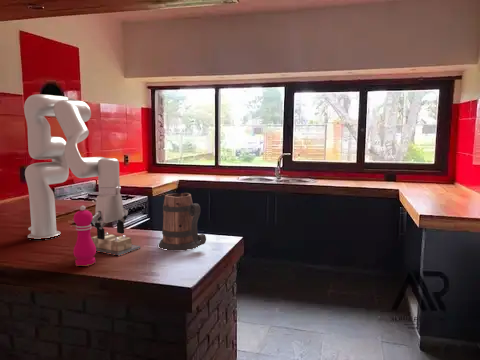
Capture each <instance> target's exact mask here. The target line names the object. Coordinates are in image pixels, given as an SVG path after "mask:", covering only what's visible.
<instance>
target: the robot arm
mask: <svg viewBox="0 0 480 360" xmlns="http://www.w3.org/2000/svg"><path fill="white" fill-rule="evenodd" d="M23 110H24V111H23V112H24V113H23V114H24V117H25V120H26V126H27V146H28V147H27V148H28V149H27V150H28V154H29V156H30V158H32V159H33V160H51V161H50V162H49V161H48V162H47V161H44V162H35V163H32V164H31V163H30V165H28V166H27V167H26V168H25V170H24V177H25V178H24V179H25V181H26V184H27V188H28V189H27V190H28V198H29V210H30V211H29V212H30V213H29V214H30V223H31V224H30V225H31V226H29V227H28V231H30V233H29V234H28V235H27V239H28V238H34V239H41V238H50V237H54V236H58V235H60V234H61V231H59V230H57V220H56V219H57V216H56V215H57V214H56V200H55V199H56V197H55V193H54V191H53V189H52V188H51V187H50V185H57V184H63V183H64V182H66V181H67V180H68V178H69V176H70V175H69V174H70V171H71V173H72V174H73V175H74V176H75V177H76V178H79V179H87V178H95V177H98V178H97V181H98V195H97V196H96V200H95V201H96V202H95V213H94V215H92V216H93V220H92V222H91V223H92V225H93V226H94V228H95V229H96V236H97V238H98V239H102V240H103V239H105V233H106V232H105V228H104V227H105V225H106V224H107V223H111V222H115V221H116V233H117V234H122V235H124V234H125V223H126V220H127V218H128V214H129V210H128V209H126V208H124V203H123V199H122V198H123V197H122V194H121V189H122V187H121V185H120V184H121V183H120V181H121V180H120V161H119V159H117V158H114V157H103V156H88V157H87V156H86V157H82V155H81V154H80V151H79V149H78V144H80V143H81V142H83V141H84V140H86V139H87V138H88V136H90V135H89V134H90V131H89V129H88V127H87V125H86V123H85V122H88V121H89V120H90V119H91V117H92V110H91V108H90V106H89V105H88V104H87V103H86V102H85V101H83V100H79V99H75V98H73V97H69V96H63V95H53V94H42V93H41V94H40V93H39V94H32V95H29V96H28V97H27V99H26V100H25V101H24V105H23ZM46 117H55V118H56V120H57V122H58V125H59V126H60V127H61V130H62V132H63V134H64V136H65V138H66V139H64V137H62V136H52V133H51V130H52V129H51V125H50V123H49V121H48V120H47V118H46ZM60 236H61V235H60ZM58 237H59V236H58Z"/></svg>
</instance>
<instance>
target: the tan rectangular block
mask: <svg viewBox="0 0 480 360" xmlns="http://www.w3.org/2000/svg"><path fill="white" fill-rule="evenodd" d="M115 237H118V241H115ZM91 238H92V240H93V242H94V244H95V247H98V248H103V249H108V250H113V251H121V250H124V249H127V248H130V247H132V245H133V244H132V237H129V236H128V237H127V236H125V239H122V235H115V234H112V233H111V234H110V233H108V236H105V239H103V240H102V239H98V238H97V235H94V236H91Z"/></svg>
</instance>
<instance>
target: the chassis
mask: <svg viewBox="0 0 480 360" xmlns="http://www.w3.org/2000/svg"><path fill="white" fill-rule="evenodd" d="M108 234H109V233H108V232H105V236H108ZM121 236H122V239H125V237H126V234H122V235H121ZM115 241H118V237H115ZM138 248H140V249H141V246H140V245H135V244H132V247H130V248H127V249H124V250H121V251H113V250H108V249H103V248H98V247H96V251H100V252H106V253H111V254H115V255H121V254H124V253H127V252H130V251H132V250H135V249H138ZM138 250H139V249H138ZM135 251H136V250H135ZM132 252H133V251H132ZM130 253H131V252H130ZM127 254H128V253H127ZM124 255H125V254H124ZM121 256H122V255H121Z"/></svg>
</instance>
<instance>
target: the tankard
mask: <svg viewBox="0 0 480 360" xmlns="http://www.w3.org/2000/svg"><path fill="white" fill-rule="evenodd" d="M162 211H163V212H162V215H163V217H162V222H163V223H162V232H161V233H162V238H161V240H160V241H159V243H158V244H159V247H160V248H163V249H167V250H185V251H188V250H187V249H191V250H194V249H197V248H199V247H200V246H202V245H205V244H206V242H207V236H206V234H204V233H200V234H199V233H198V221H199V219H200V216H201V206H200V204H199V203H193V199H192V194H191V193H189V192H181V193H168V194H165V195H164V199H163V204H162ZM198 246H199V247H198ZM196 247H197V248H196ZM160 248H159V249H160ZM193 248H194V249H193ZM167 250H166V251H167Z"/></svg>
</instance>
